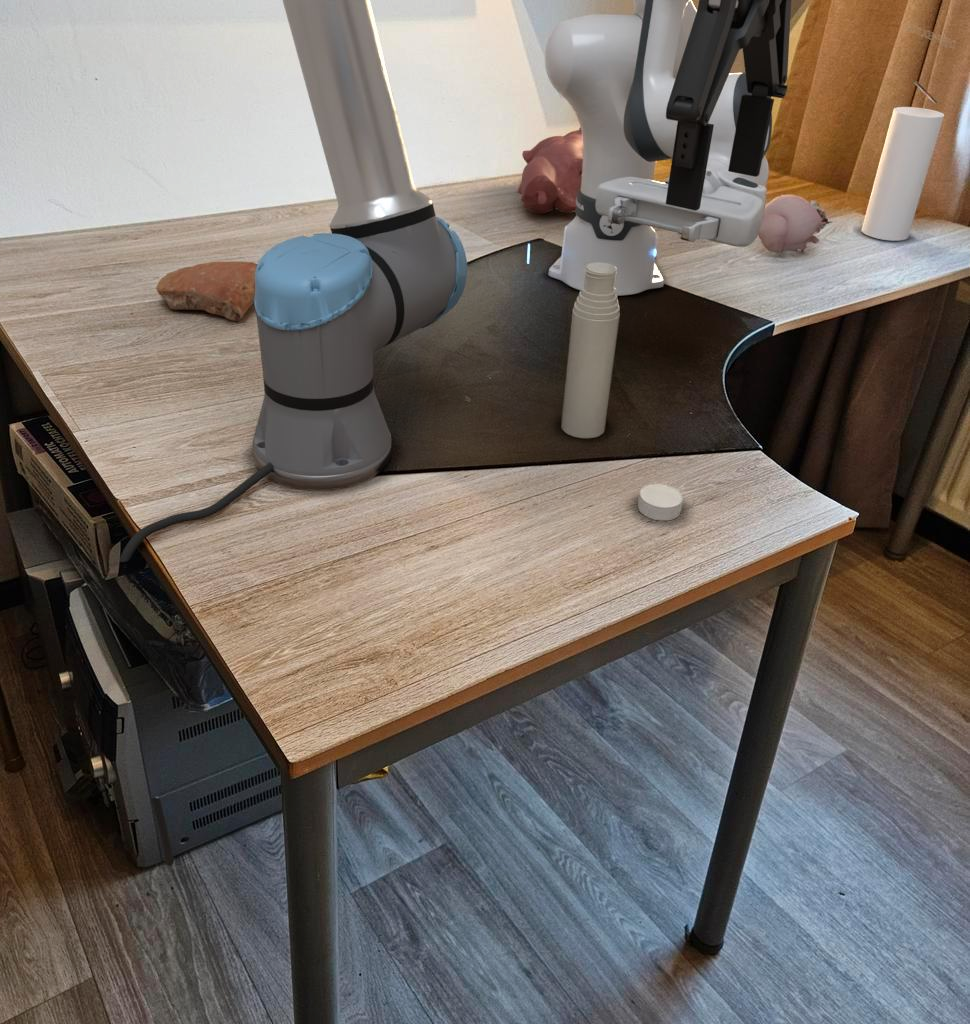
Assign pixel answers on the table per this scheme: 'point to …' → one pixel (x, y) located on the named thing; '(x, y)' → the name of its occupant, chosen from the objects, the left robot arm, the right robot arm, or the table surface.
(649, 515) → the cap
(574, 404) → the bottle
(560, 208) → the pink faceted figure
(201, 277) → the ceramic shard
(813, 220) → the toy
